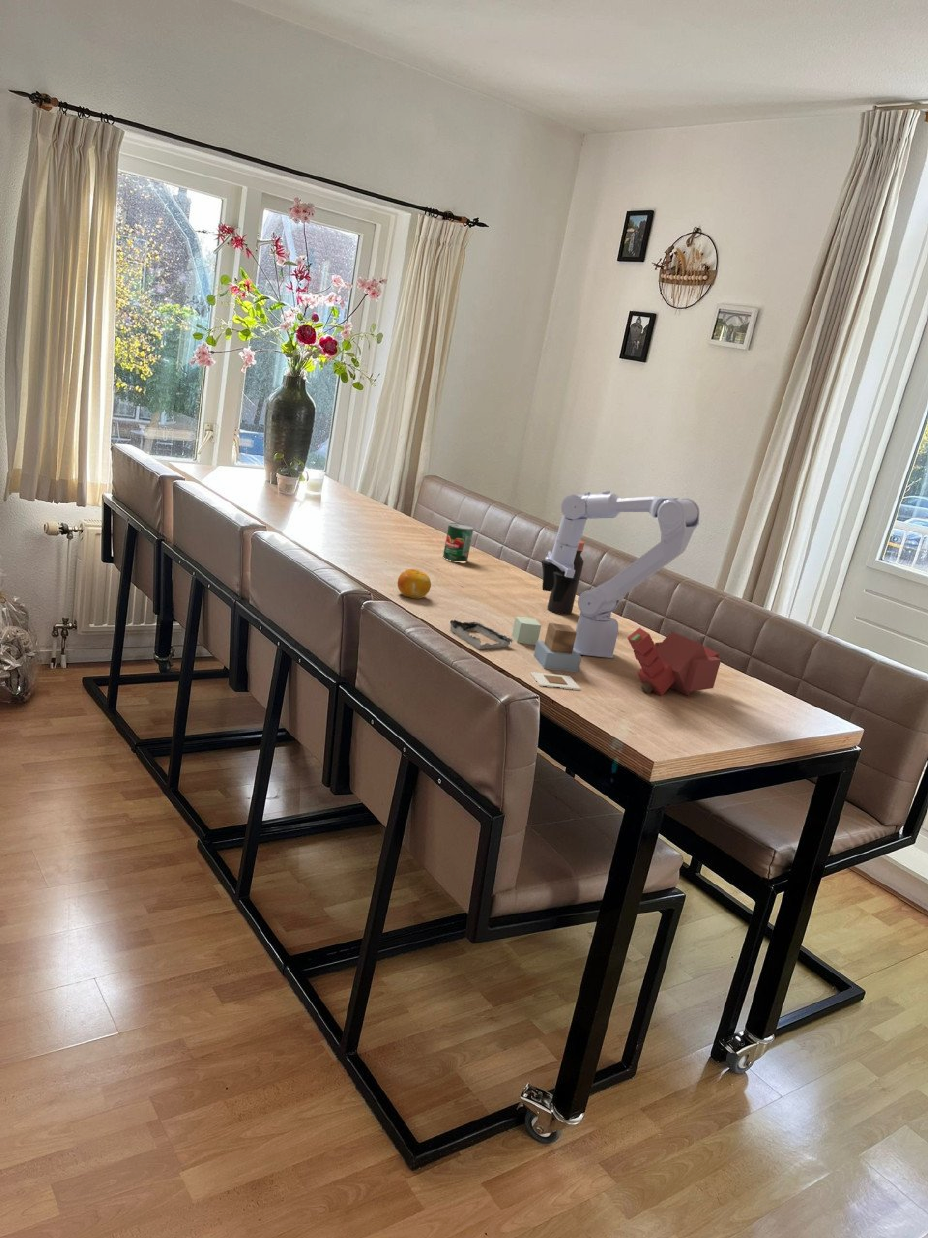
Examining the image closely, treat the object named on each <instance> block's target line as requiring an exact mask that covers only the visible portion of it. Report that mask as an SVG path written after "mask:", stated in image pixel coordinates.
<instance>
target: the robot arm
mask: <svg viewBox="0 0 928 1238" xmlns="http://www.w3.org/2000/svg"><path fill="white" fill-rule="evenodd" d="M560 509H561V513H562V516H561V519H560V523H559V526H558V530H557V533H556V536H555V541H554V544H553V547H552V550H548V553H547V555H546V556H545V558H544V559H545V560H544V559H543V560H541V567H542V589H541V590H542V591H544V592H545V591H546V592H550V593H551V590H552V589H553V586H554V589H553V594H552V601H555V602H561V601H562V599H563V597H564V596H565V594H566V592H567V591H568V589H569V588H570V587H571V586H572V585H573V584H574V583H575V582H576V581H577V578H576V577H574V574H575V570H574V559H575V556H576V553H577V549H578V546H579V543H580V541H581V539H582V536H583V531H584V529H585V525H586V522H587V520H588V519H592V520H593V519H596V520H597V519H614V518H617V516H618V515H619V514H620V513H649V514H650V515H651V517H653V518H657V521H658V525H659V529H660V533H661V534H660V535H661V536H660V542H658V543H657V544H656V545H654V546H653V547H652V548H650V549H648V551H647V552H645V553H644V554H642V555H641V556H640V557H638V558H637V559H636V560H634V561H633V562H632V563H630V564H629V565H627V566H626V567H625V568H623V569H622V570H621V571H620V572H618V573H616V575H614V576H612V577H611V578H610V579H608V580H606V581H605V582H603V583H601V584H599V585H597V586H596V587H595V588H593V589H587V590H584V591H583V592H581V593H580V594H579V596H578V600H577V607H578V610H579V615H578V619H577V625H576V628H575V631H576V632H577V635H576V639H575V643H574V649H575V650H576V652H577V653H578V654H579V655H580V656H581V655H583V656H590V657H591V656H592V657H598V658H605V659H606V658H608V659H614V655H613V654H614V650H615V646H616V643H617V639H618V634H619V622H618V620H617V619H616V618H613V617H612V615H611V613H612V612H614V611H615V610H616V609H617V607H618V606H619V603H620V602H621V601H622V600H623V599H624V598H625V597H626V594H628V593H630V592H631V591H632V590H633V589H635V588H636V587H638V586H639V585H641V584H643V582H645V581H646V580H648V579H649V578H650V577H651V576H653V575H654V574H656V573H657V572H659V570H661V569H663V568H665V566H666V565H668V564H670V563H671V562H672V561H673V560H675V559H676V558H678V557H679V556H680V555H682V554H683V553H684V552H685V551H686V549H687V547H688V545H689V543H690V540H691V538H692V536H693V533H694V532H695V530H696V528H697V527H698V526H699V524H700V507H699V505H698V504H697V502H695V500H693V499H690V498H681V499H680V498H678V497H671V496H661V495H660V496H658V495H657V496H656V495H655V496H640V497H639V496H638V497H627V498H626V497H625V498H620V497H619V496H618V495H617V494H616V493H614V492H611V490H603V491H602V493H591V492H584V493H583V494H575V493H573V494H570V495H567V496H565V497H564V499H562V501H561V507H560ZM561 571H562V573H560V572H561Z"/></svg>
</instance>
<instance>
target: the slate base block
mask: <svg viewBox="0 0 928 1238" xmlns="http://www.w3.org/2000/svg"><path fill="white" fill-rule="evenodd" d="M544 643H545V640H544V641H543V640H538V641H537V643H536V645H535V647H534V652H533V657H534V659H536V661H537V662H538V663H539V664H540V666H541V667H542V668H543V669H546V670H554V671H563V672H571V673H574V672H575V673H578V672H579V669H580V664H581V660H582V656H581V655H579V654H578V653H577V652H576V650H575V649H574V648H573V652H572V654H570V653H561V652H553V651H550V650H549V649H548V647H547V646H546V645H545V644H544Z"/></svg>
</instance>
